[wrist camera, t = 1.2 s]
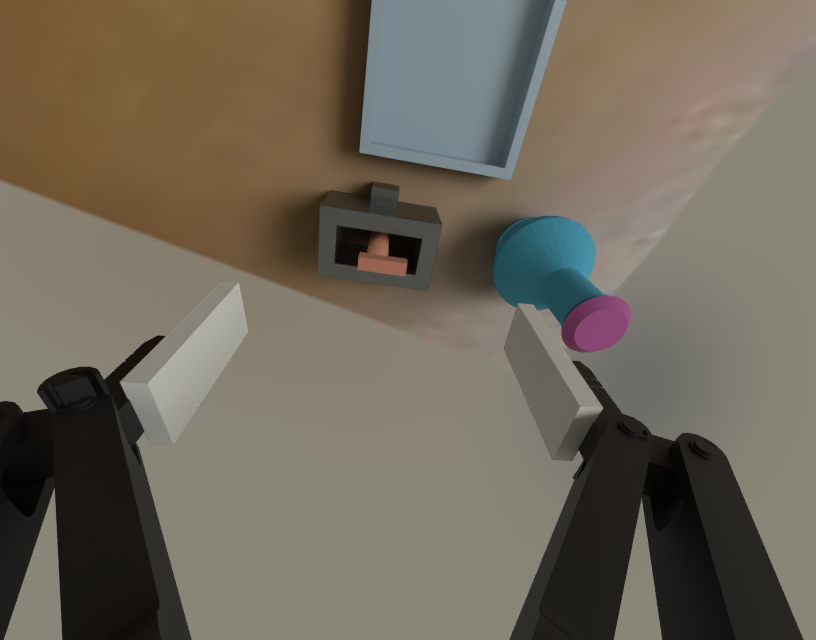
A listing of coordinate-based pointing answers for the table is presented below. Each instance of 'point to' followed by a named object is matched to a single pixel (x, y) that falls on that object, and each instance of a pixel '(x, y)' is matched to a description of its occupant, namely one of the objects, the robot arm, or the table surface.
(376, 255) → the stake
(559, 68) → the table surface
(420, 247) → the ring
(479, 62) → the tray
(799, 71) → the table surface
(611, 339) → the perfume bottle
